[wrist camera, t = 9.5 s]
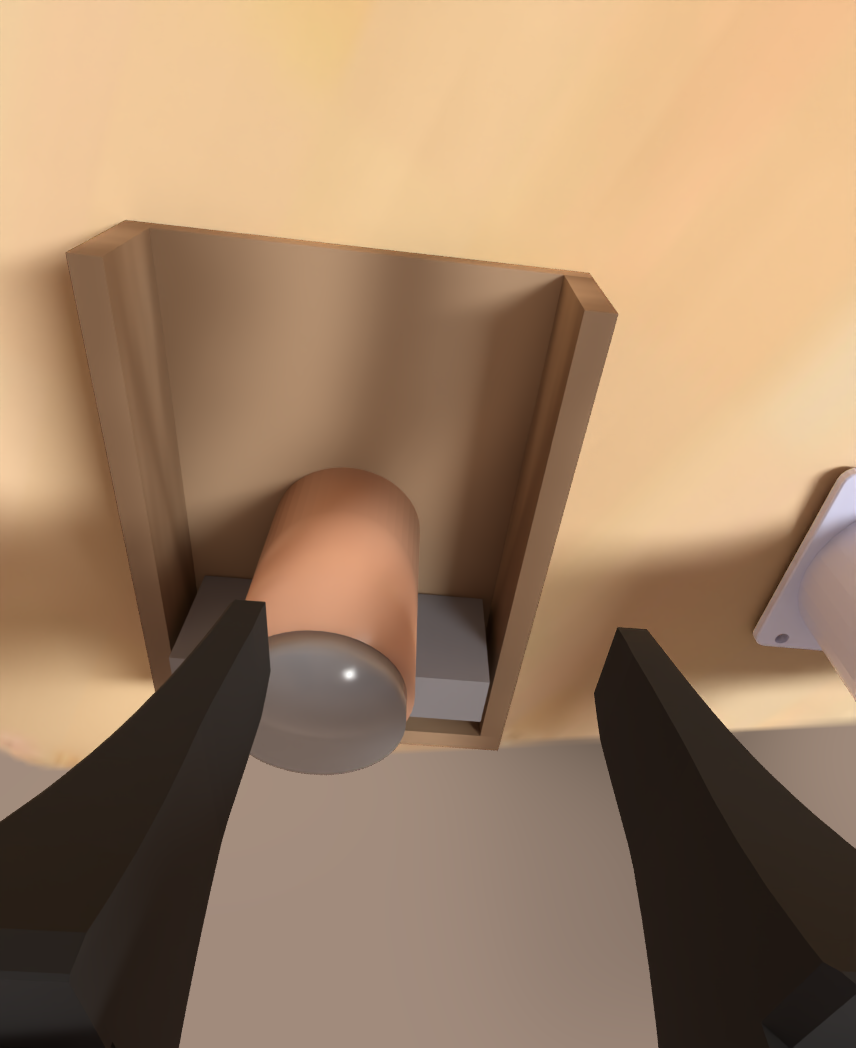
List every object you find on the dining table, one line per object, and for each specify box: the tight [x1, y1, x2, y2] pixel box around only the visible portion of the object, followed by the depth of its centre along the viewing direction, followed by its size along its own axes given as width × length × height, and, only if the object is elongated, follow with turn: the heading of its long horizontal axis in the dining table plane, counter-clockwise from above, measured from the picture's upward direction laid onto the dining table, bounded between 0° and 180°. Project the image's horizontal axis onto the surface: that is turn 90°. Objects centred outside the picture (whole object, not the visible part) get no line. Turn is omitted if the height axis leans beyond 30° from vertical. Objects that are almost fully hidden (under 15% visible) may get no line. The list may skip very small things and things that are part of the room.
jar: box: [245, 467, 420, 775], centre depth 20 cm, size 5×5×8 cm
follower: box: [169, 575, 490, 722], centre depth 23 cm, size 10×2×5 cm, turn 84°
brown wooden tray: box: [66, 220, 618, 750], centre depth 21 cm, size 13×17×4 cm
